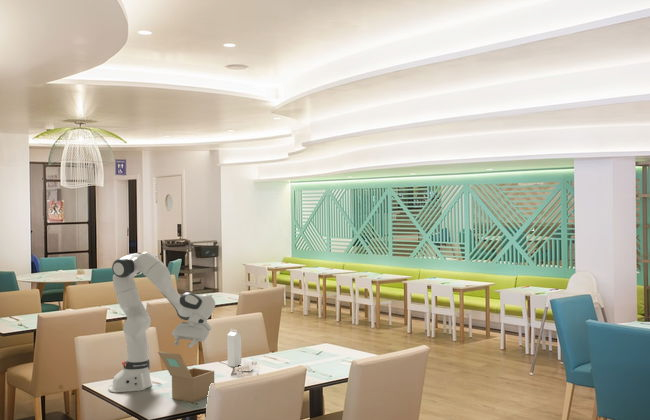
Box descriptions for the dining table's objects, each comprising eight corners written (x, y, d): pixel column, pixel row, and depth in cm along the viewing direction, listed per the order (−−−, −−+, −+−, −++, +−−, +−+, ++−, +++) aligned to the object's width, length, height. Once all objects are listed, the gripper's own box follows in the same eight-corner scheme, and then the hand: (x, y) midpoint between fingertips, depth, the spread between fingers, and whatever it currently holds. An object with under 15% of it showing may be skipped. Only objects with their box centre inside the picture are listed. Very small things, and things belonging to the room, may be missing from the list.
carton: (193, 402, 319) (192, 378, 319) (172, 398, 327) (171, 374, 327) (214, 394, 333) (214, 370, 333) (194, 390, 340) (193, 367, 340)
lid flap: (192, 378, 319) (191, 379, 319) (171, 374, 327) (170, 375, 326) (180, 354, 312) (179, 355, 311) (158, 351, 319) (157, 352, 319)
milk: (234, 364, 398) (234, 328, 398) (241, 365, 394) (241, 329, 395) (227, 366, 393) (226, 329, 393) (234, 367, 390) (234, 330, 390)
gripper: (177, 318, 335) (164, 340, 327) (207, 321, 325) (194, 344, 316) (184, 325, 339) (170, 347, 331) (213, 328, 329) (200, 351, 320)
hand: (182, 346), depth 324 cm, fingers open, 8 cm apart
